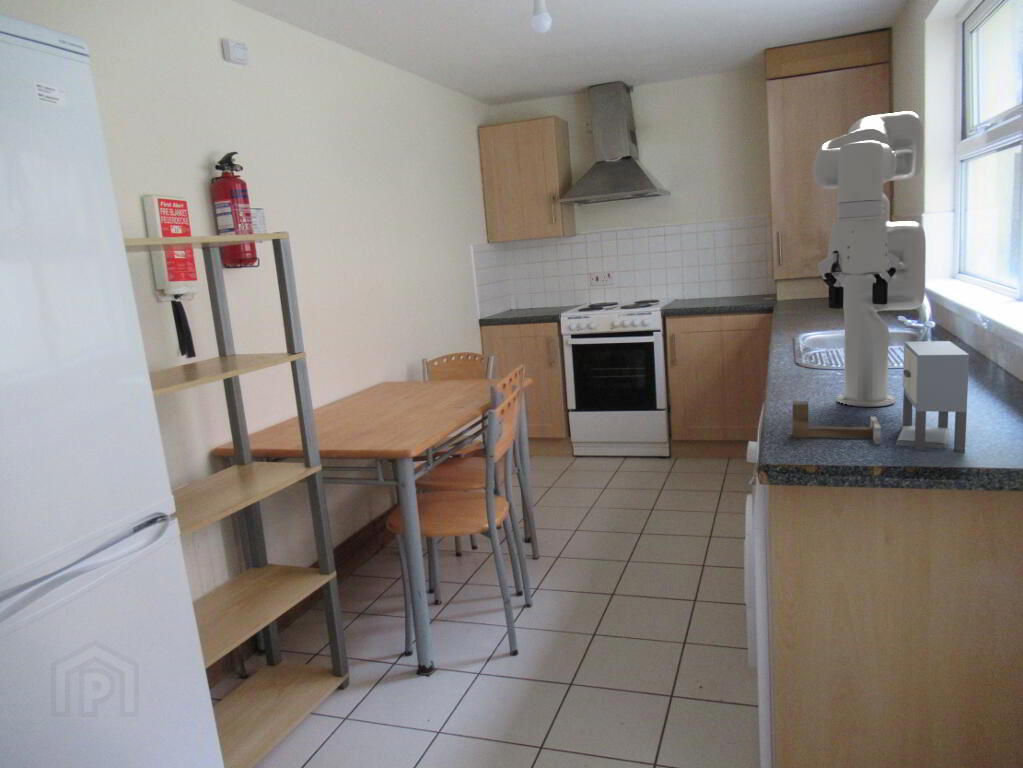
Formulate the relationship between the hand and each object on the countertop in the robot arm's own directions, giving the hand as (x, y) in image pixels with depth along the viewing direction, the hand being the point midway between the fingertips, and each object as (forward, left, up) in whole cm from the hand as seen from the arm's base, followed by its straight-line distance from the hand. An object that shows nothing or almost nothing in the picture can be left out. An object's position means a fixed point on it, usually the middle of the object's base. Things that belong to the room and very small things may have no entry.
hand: (858, 306), depth 140 cm
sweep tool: (-8, -3, -27) cm, 28 cm away
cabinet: (-8, +14, -27) cm, 32 cm away
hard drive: (-8, +13, -28) cm, 32 cm away
